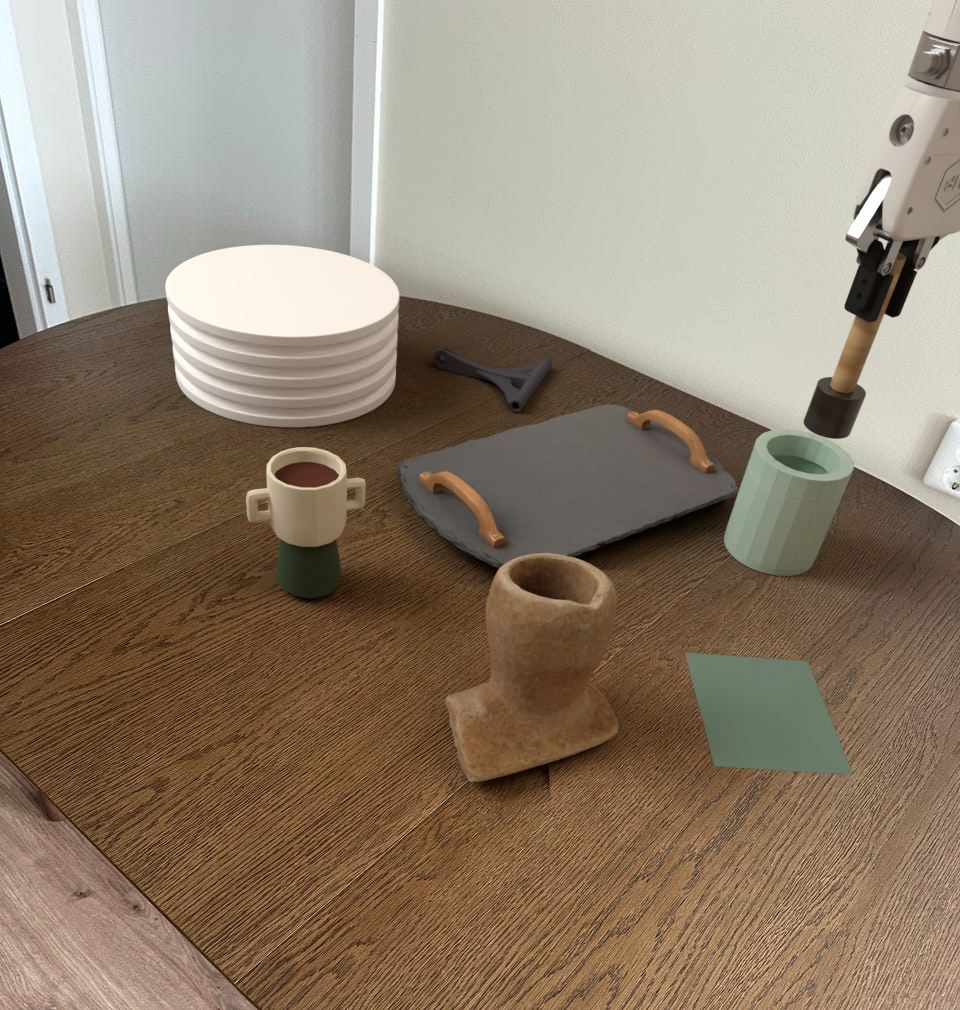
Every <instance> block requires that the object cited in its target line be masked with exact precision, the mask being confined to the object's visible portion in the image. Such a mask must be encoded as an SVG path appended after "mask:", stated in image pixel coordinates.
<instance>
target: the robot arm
mask: <svg viewBox="0 0 960 1010" xmlns="http://www.w3.org/2000/svg"><path fill="white" fill-rule="evenodd" d="M907 72H908V73H907V75H906V77H905V81H904V83H905V84H904V85H903V86H902V88H901V90H900V92H899V94H898V96H897V98H896V100H895V101H894V103H893V105H892V108H891V110H890V112H889V114H888V116H887V118H886V121H885V123H884V125H883V128H882V129H881V132H880V134H879V136H878V139H877V141H876V143H875V145H874V148H873V150H872V153H871V155H870V158H869V161H868V164H867V166H866V169H865V171H864V174H863V177H862V179H861V182H860V185H859V188H858V191H857V195H856V198H855V201H854V205H853V210H852V218H853V222H852V224H851V226H850V228H849V230H848V231H847V233H846V234H845V237H844V238H845V241H846V242H847V243H848V244H849V245H850V246H852V247H854V248H855V249H856V252H857V256H856V264H858V267H857V269H856V272H855V275H854V278H853V281H852V283H851V286H850V288H849V292H848V295H847V297H846V300H845V303H844V310H845V311H846V312H848V313H849V314H852V315H854V316H858V317H860V318H862V319H863V320H865V321H867V322H874V321H876V320H877V318H878V316H879V313H880V311H881V308H882V306H883V303H884V300H885V298H886V295H887V293H888V290H889V288H890V285H891V283H892V280H893V277H894V276H893V275H891V274H889V272H890V271H891V269H892V267H893V265H894V262H895V260H896V257H897V255H898V252H899V253H901V254H903V255H905V256H906V261H905V263H904V266H903V268H902V271H901V273H900V276H899V278H898V281H897V283H896V286H895V289H894V291H893V294H892V296H891V299H890V301H889V304H888V306H887V309H886V311H885V314H884V315H886V316H888V317H889V318H893V319H894V318H897V317H900V316H901V313H902V312H903V309H904V306H905V304H906V301H907V299H908V296H909V294H910V292H911V289H912V286H913V284H914V282H915V279H916V276H917V274H918V271H919V270H922V268H923V267H924V266H925V264H926V262H927V259H928V258H929V254H930V252H931V251H932V250H933V248H934V247H936V246H937V244H938V243H939V242H940V241H941V240H942V239H944V238H946V237H947V236H949V235H953V234H956V233H959V232H960V0H932V3H931V6H930V9H929V12H928V15H927V18H926V20H925V23H924V25H923V31H922V32H921V35H920V38H919V41H918V44H917V46H916V49H915V51H914V54H913V57H912V60H911V62H910V66H909V69H908V71H907ZM880 239H881V240H884V241H886V242H887V243H886V244H885V246H884V243H883V242H882V241H880Z"/></svg>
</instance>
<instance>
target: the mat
mask: <svg viewBox="0 0 960 1010" xmlns="http://www.w3.org/2000/svg"><path fill="white" fill-rule="evenodd" d="M684 655H685V658H686V663H687V666H688V670H689V675H690V677H691V680H692V685H693V689H694V693H695V697H696V701H697V705H698V709H699V713H700V718H701V721H702V724H703V728H704V733H705V737H706V740H707V744H708V747H709V751H710V755H711V760H712V764H713V766H714V767H715V768H730V769H731V768H732V769H746V770H747V769H749V770H750V769H751V770H763V771H764V770H765V771H779V772H780V771H782V772H796V773H798V772H799V773H813V774H831V775H848V776H849V775H850V776H853V775H854V773H853V771H852V769H851V766H850V764H849V761H848V758H847V755H846V753H845V751H844V748H843V746H842V743H841V740H840V738H839V736H838V733H837V731H836V728H835V726H834V723H833V720H832V718H831V715H830V712H829V711H828V708H827V706H826V703H825V700H824V698H823V695H822V693H821V691H820V688H819V686H818V685H819V684H818V682H817V680H816V678H815V675H814V673H813V669H812V668H811V665H810V662H809V661H808V660H797V659H795V660H794V659H782V658H781V659H780V658H766V657H753V656H752V657H751V656H738V655H725V654H724V655H723V654H709V653H698V652H697V653H695V652H685V653H684Z"/></svg>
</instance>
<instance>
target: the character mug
mask: <svg viewBox="0 0 960 1010" xmlns="http://www.w3.org/2000/svg"><path fill="white" fill-rule="evenodd" d="M265 470H266V487H265V488H257V489H256V488H255V489H251V490H249V491H247V493H246V495H245V504H246V506H245V507H246V517H247V519H248V522H250V523H254V524H258V523H265V522H268V524H269V526H270V527H271V529H272V531H273V532H274V534H275V535H276V537H277V538H278V539H279V543H278V552H277V560H276V576H275V577H276V580H275V581H276V583H278V585H279V586H280V587H281V589H282V590H284V591H286V592H287V593H290V594H291V595H293V596H294V597H300V598H305V599H316V598H321V597H325V596H327V595H329V594H330V593H332V592H334V591H335V590H337V588H338V586H339V585H340V583H341V582H342V569H341V568H342V567H341V560H340V553H339V547H338V541H337V539H338V538H340V537H341V535H342V534H343V532H344V529H345V527H346V525H347V516H348V515H347V512H351V511H358V510H362V509H363V508H364V507H365V505H366V493H367V492H366V490H367V481H366V479H365V478H363V477H362V478H361V477H353V478H352V477H351V478H348V475H347V473H348V472H347V466H346V462H344V461H343V459H341V457H340V456H338V455H337V454H334V453H333V452H330V451H329V450H325V449H322V448H317V447H308V446H299V447H297V446H296V447H292V448H288V449H285V450H281V451H280V452H278V453H276V454H275V455H272V457H270V459H269V461H268V462H267V463H266V469H265ZM348 490H355V492H354V495H355V497H354V499H348ZM265 500H267V510H259V507H258V501H265Z"/></svg>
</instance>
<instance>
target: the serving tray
mask: <svg viewBox="0 0 960 1010" xmlns="http://www.w3.org/2000/svg"><path fill="white" fill-rule="evenodd" d="M396 475H397V477H398V480H399V482H400V486H401V491H402V492H403V494H404V496H405V498H406V500H407V501H408V503H409V504H410V505H411V506H412V508H413V510H414V512H415V513H416V515H417V516H418V517H419V518H420V519H422V520H423V522H425V523H426V524H427V525H428V526H429V527H430V528H431V529H432V530H433V531H434V532H435V533H436V534H437V535H439V537H441V538H442V539H444V540H445V541H447V542H449V543H450V544H451V545H452V546H454V547H456V548H457V549H460V550H461V551H462V552H464V553H466V554H469V555H470V556H472V557H473V558H475V559H477V560H480V561H481V562H483V563H485V564H487V565H490V566H493V567H495V568H497V569H498V570H499V569H500V568H501V567H502V566H503V565H504V564H505V563H507V562H509V561H510V560H513V559H515V558H518V557H521V556H524V555H530V554H536V553H551V554H560V555H564V556H569V557H574V558H576V557H578V556H581V555H583V554H585V553H588V552H593V551H594V550H597V549H599V548H601V547H603V546H606V545H609V544H611V543H614V542H617V541H621V540H623V539H626V538H629V537H630V536H633V535H635V534H639V533H642V532H644V531H645V530H648V529H653V528H654V527H657V526H659V525H662V524H664V523H665V524H666V523H669V522H671V521H673V520H675V519H678V518H681V517H684V516H686V515H688V514H690V513H693V512H696V511H699V510H701V509H705V508H706V507H710V506H712V505H713V506H716V507H717V506H718V507H719V506H721V505H723V503H725V502H726V501H727V500H728V499H730V498H733V497H736V496H737V495H738V492H739V489H740V488H739V486H738V485H737V482H736V480H735V478H734V477H733V476H732V475H731V474H730V473H729V471H728V470H726V467H724V466H723V464H722V463H721V462H720V461H719V460H718V459H717V458H716V457H715V456H714V455H713V454H710V452H708V451H707V450H706V449H705V447H704V444H703V442H702V440H701V438H700V436H698V435H697V433H695V431H694V430H692V429H691V428H690V427H689V426H688V425H686V424H685V423H684V422H683V421H681V420H679V419H678V418H676V417H674V415H672V414H669V413H667V412H666V411H662V410H658V409H652V410H648V411H645V412H643V413H640V412H638V411H634V410H631V409H629V408H628V407H625V406H621V405H616V404H611V403H607V404H600V405H598V406H594V407H593V406H592V407H590V408H589V407H588V408H585V409H582V410H580V411H576V412H572V413H568V414H562V415H559V416H555V417H552V418H549V419H547V420H545V421H541V422H538V423H534V424H529V425H522V426H518V427H516V428H510V429H507V430H505V431H502V432H498V433H494V434H492V435H488V436H486V437H480V438H477V439H470V440H467V441H465V442H462V443H460V444H456V445H454V446H453V447H446V448H443V449H440V450H437V451H431V452H428V453H424V454H421V455H418V456H414V457H410V458H407V459H405V460H403V461H400V463H399V464H398V465H397V467H396Z"/></svg>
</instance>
